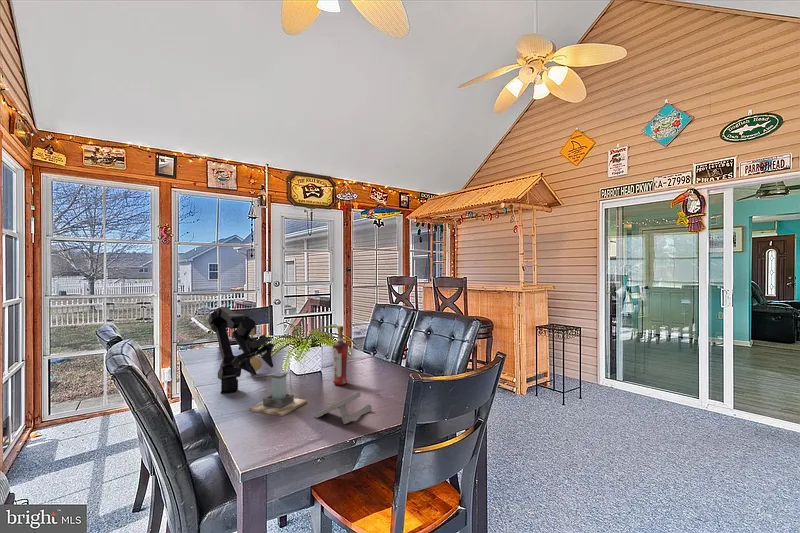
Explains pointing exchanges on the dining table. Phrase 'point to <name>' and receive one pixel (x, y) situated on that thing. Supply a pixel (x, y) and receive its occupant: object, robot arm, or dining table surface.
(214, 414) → the dining table surface
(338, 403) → the door handle
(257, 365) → the wall sconce
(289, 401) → the post socket
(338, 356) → the liquor
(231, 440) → the dining table surface
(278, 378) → the rail end post
